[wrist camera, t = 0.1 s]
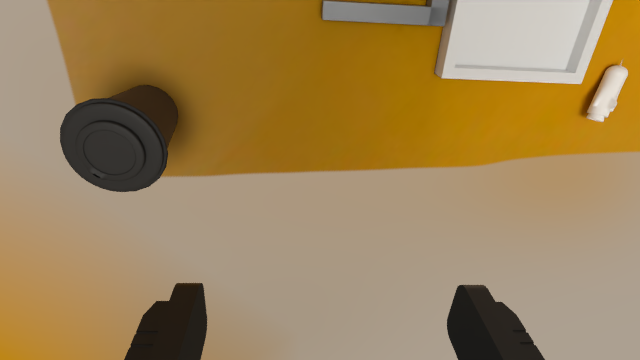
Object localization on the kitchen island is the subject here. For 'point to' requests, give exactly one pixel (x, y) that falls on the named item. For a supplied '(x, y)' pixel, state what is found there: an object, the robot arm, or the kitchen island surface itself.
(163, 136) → the coffee cup
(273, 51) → the kitchen island surface
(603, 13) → the tray
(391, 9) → the holder
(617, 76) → the small white plastic part
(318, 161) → the kitchen island surface
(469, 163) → the kitchen island surface
